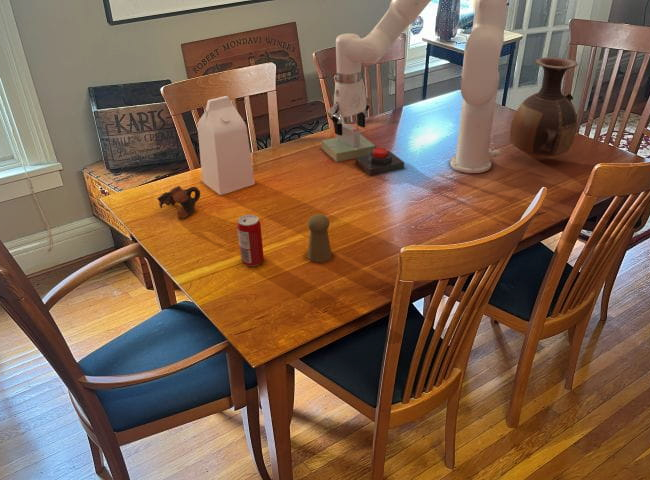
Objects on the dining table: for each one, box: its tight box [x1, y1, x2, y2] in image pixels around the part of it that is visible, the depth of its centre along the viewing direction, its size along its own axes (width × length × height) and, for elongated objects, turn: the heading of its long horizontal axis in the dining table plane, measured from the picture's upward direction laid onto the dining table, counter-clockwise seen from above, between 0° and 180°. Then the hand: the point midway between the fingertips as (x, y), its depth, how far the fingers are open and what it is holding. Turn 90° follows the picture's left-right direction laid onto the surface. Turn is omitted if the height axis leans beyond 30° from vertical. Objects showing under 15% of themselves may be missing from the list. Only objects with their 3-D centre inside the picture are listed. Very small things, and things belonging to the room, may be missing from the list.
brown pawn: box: [307, 213, 332, 263], centre depth 151 cm, size 6×6×11 cm
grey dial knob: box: [336, 121, 361, 148], centre depth 202 cm, size 9×2×6 cm, turn 38°
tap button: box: [373, 147, 388, 158], centre depth 193 cm, size 4×4×2 cm
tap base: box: [321, 133, 376, 163], centre depth 205 cm, size 14×13×3 cm
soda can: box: [236, 214, 265, 267], centre depth 150 cm, size 6×6×12 cm
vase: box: [509, 56, 579, 160], centre depth 189 cm, size 23×19×30 cm
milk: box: [197, 95, 256, 196], centre depth 181 cm, size 12×12×26 cm
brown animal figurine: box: [157, 185, 201, 220], centre depth 175 cm, size 12×10×8 cm
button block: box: [355, 150, 405, 177], centre depth 195 cm, size 12×10×4 cm
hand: (350, 130), depth 201 cm, fingers open, 9 cm apart
